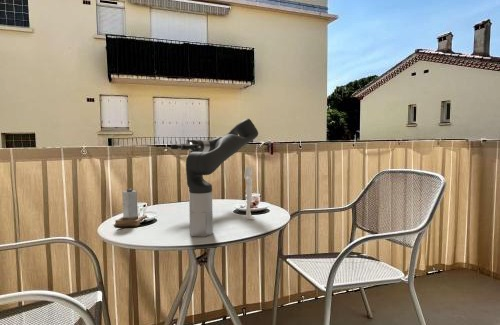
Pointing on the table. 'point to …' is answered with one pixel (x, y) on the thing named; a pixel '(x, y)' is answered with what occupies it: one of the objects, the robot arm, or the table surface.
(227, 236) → the table surface
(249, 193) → the character figure
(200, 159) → the robot arm
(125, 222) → the tray
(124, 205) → the grey rectangular block
